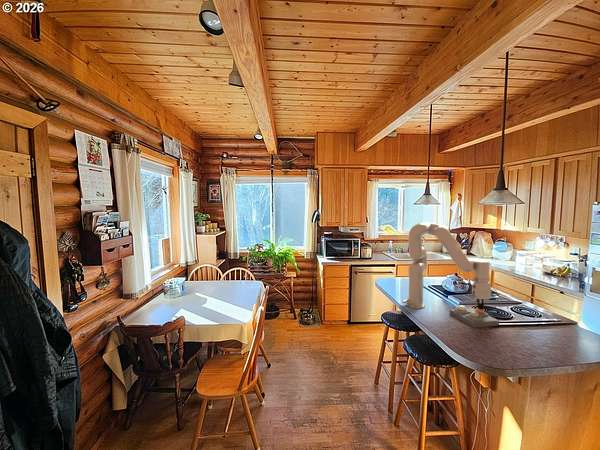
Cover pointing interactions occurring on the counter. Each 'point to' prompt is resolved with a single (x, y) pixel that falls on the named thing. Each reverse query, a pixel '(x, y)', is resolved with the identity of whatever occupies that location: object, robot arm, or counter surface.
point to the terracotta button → (479, 311)
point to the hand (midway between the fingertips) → (480, 308)
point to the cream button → (461, 308)
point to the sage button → (474, 314)
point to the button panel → (481, 321)
